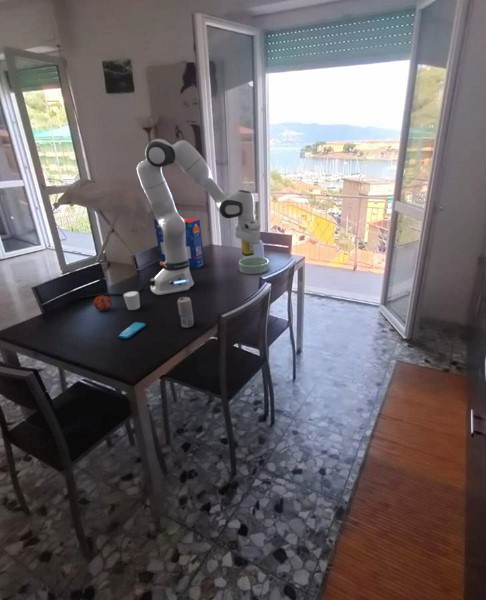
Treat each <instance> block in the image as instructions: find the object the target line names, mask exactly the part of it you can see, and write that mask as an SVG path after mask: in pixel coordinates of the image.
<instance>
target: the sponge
mask: <svg viewBox="0 0 486 600" xmlns="http://www.w3.org/2000/svg"><path fill="white" fill-rule="evenodd" d="M145 327H146V323H144V322H133V323H132V324H131V325H130V326H128V327H127V328H126V329H125V330H123V331H122V332H120V334H119V335H118V338H119V339H125V340H127V339H129V338H131V337H132V336H134V335H135V334H136V333H137V332H139V331H140V330H142V329H144V328H145Z"/></svg>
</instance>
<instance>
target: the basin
mask: <svg viewBox="0 0 486 600" xmlns="http://www.w3.org/2000/svg"><path fill="white" fill-rule="evenodd" d="M269 270H270V260H269V259H268V258H266V257H264V258H263V257H250V256H247V257H244V258H241V259H239V261H238V271H239V272H240V273H242V274H245V275H259V274H261V275H262V274H264V273H266V272H267V271H269Z"/></svg>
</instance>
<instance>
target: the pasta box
mask: <svg viewBox="0 0 486 600" xmlns="http://www.w3.org/2000/svg"><path fill="white" fill-rule="evenodd" d="M182 218H183V220H184V222H185V231H186V251H187V258H188V260H189V265H190V266H189V267H190V268H189V269H196V270H197V269H199V268H201V267H203V266H205V256H204V255H205V254H204V246H203V238H202V237H203V236H202V228H201V221H200V219H196V218H188V217H187V218H185V217H182ZM153 223H154V230H155V235H156V241H157V247H158V253H159V260H160V262H161V261H162V262H165V261H166V258H165V252H164V240H163V231H162V228H161V227H160V226H159V224H158V221H157V219H156V218H153Z"/></svg>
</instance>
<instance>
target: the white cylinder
mask: <svg viewBox="0 0 486 600" xmlns="http://www.w3.org/2000/svg"><path fill="white" fill-rule="evenodd" d="M137 291H138V290H132V291H127V292H124V293H125V294H124V295H122V296H123V299H124V302H125V305H126V308H127V310H128V311H135V310H138V309H140V308H141V304H140V303H141V302H140V292H137Z"/></svg>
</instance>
